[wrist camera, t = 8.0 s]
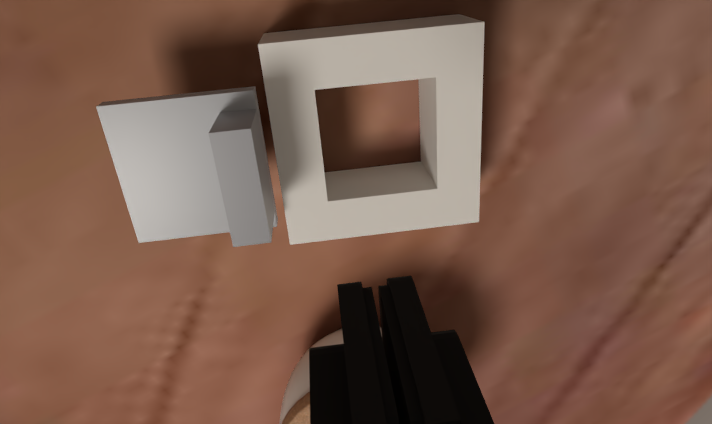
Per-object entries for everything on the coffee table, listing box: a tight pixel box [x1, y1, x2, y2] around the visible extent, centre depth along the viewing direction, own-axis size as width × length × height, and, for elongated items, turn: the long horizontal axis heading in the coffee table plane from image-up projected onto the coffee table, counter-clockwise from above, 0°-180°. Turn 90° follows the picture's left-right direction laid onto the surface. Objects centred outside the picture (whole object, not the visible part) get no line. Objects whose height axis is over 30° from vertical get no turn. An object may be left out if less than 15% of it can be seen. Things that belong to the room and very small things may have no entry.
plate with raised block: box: [96, 86, 278, 247], centre depth 22 cm, size 7×7×4 cm
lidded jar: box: [280, 327, 382, 424], centre depth 31 cm, size 11×11×9 cm
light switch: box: [258, 14, 485, 245], centre depth 26 cm, size 10×10×4 cm
